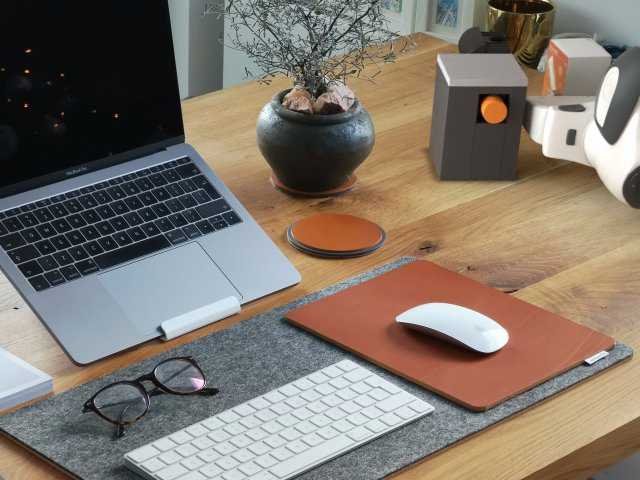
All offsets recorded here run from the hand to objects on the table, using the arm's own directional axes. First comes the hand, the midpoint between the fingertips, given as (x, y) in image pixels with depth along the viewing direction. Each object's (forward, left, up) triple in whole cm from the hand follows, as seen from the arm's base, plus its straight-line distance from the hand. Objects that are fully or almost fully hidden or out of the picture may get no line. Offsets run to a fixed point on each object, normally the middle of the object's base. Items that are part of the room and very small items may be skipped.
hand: (586, 95), depth 152 cm
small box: (0, -6, -8) cm, 10 cm away
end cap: (+8, -31, -8) cm, 33 cm away
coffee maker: (+16, +5, -8) cm, 19 cm away
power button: (+15, +10, 0) cm, 18 cm away
